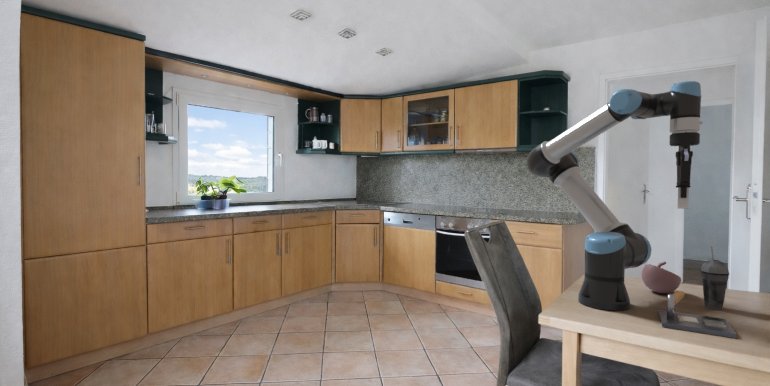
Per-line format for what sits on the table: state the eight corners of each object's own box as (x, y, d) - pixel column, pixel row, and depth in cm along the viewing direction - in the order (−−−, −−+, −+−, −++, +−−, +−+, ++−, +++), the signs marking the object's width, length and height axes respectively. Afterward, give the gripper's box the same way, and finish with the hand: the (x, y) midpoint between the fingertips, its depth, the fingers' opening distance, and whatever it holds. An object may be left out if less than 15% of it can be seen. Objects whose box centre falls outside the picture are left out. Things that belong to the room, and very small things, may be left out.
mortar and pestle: (689, 296, 142) (690, 264, 142) (662, 298, 139) (662, 265, 139) (659, 287, 154) (659, 257, 153) (633, 289, 151) (633, 259, 150)
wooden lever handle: (676, 305, 117) (677, 299, 116) (667, 303, 118) (667, 297, 118) (685, 297, 125) (685, 291, 125) (675, 295, 127) (675, 290, 126)
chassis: (662, 326, 112) (662, 299, 112) (658, 313, 124) (659, 288, 123) (736, 338, 104) (737, 308, 104) (725, 323, 115) (726, 296, 115)
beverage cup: (733, 312, 125) (736, 248, 124) (707, 310, 126) (709, 247, 126) (719, 305, 132) (721, 244, 131) (694, 303, 134) (696, 244, 133)
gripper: (703, 129, 117) (701, 210, 117) (696, 134, 128) (694, 207, 129) (672, 131, 120) (670, 209, 121) (667, 135, 132) (665, 206, 133)
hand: (682, 208), depth 125 cm, fingers closed
